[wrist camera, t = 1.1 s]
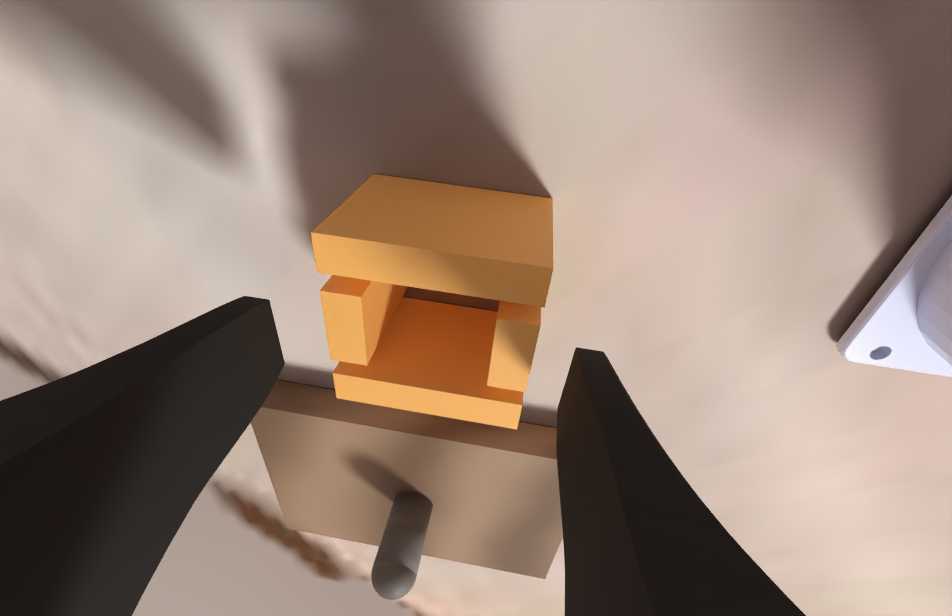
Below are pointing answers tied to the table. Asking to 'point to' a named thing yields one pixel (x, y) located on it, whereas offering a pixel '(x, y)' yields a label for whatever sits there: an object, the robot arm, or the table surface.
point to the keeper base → (412, 483)
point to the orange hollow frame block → (441, 269)
